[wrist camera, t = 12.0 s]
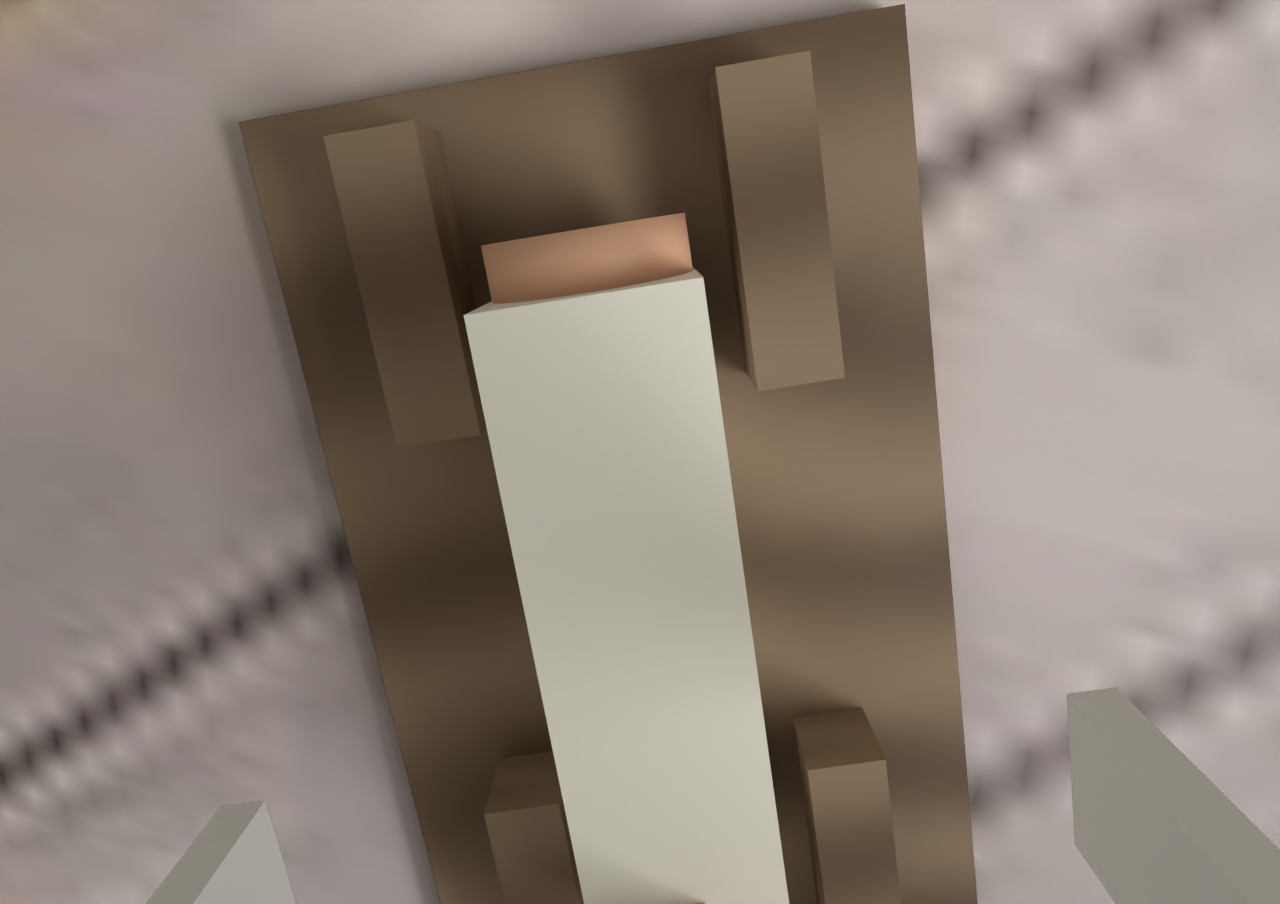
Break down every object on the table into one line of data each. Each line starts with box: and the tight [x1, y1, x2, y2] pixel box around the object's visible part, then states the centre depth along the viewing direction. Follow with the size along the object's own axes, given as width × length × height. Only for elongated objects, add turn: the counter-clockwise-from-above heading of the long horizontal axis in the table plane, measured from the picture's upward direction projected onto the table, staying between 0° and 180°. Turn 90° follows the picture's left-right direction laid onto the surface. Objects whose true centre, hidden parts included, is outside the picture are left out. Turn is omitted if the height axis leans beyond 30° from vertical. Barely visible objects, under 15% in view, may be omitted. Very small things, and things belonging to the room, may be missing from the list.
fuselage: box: [464, 213, 789, 904], centre depth 20 cm, size 17×4×8 cm, turn 9°
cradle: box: [239, 4, 977, 904], centre depth 23 cm, size 26×16×4 cm, turn 9°
